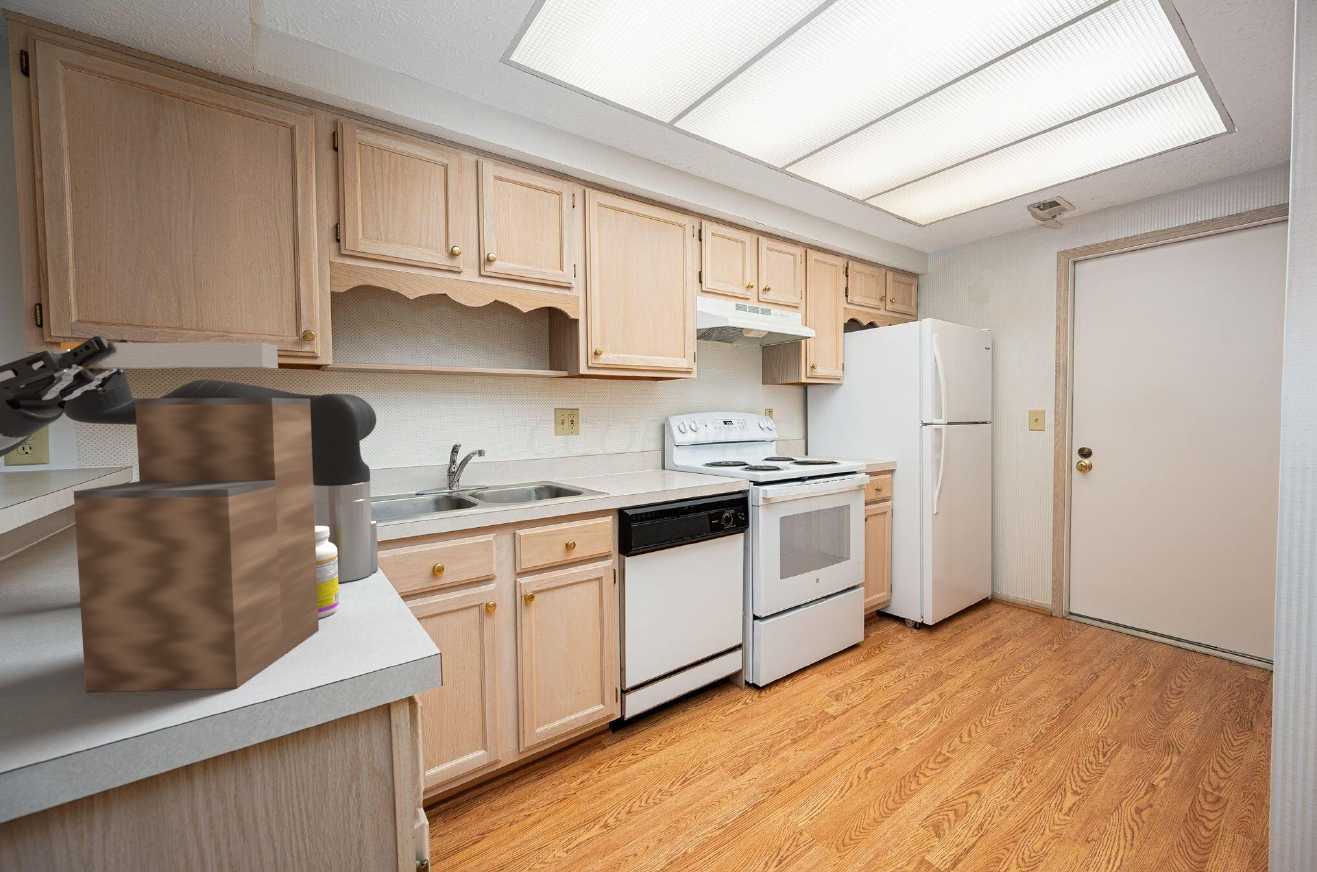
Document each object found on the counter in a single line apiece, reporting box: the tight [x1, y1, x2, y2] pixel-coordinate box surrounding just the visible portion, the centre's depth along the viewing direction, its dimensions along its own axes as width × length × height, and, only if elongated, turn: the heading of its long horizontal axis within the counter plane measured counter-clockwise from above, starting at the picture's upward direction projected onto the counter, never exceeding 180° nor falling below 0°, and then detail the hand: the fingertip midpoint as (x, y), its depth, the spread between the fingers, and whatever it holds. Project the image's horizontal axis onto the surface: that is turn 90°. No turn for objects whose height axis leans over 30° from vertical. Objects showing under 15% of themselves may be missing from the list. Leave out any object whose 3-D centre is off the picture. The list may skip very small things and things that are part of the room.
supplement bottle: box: [315, 526, 340, 620], centre depth 84 cm, size 7×7×13 cm
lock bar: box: [60, 341, 279, 370], centre depth 71 cm, size 24×3×3 cm, turn 92°
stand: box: [73, 397, 320, 693], centre depth 69 cm, size 16×16×32 cm
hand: (118, 344), depth 71 cm, fingers closed on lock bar, 3 cm apart
